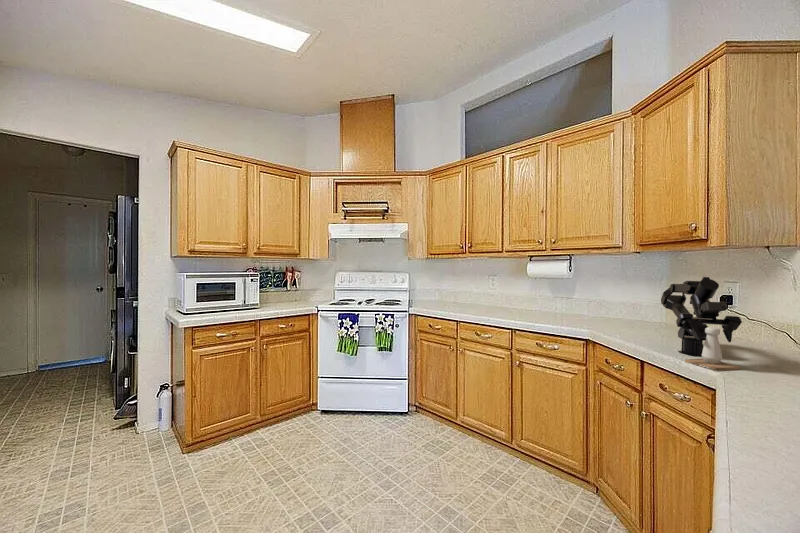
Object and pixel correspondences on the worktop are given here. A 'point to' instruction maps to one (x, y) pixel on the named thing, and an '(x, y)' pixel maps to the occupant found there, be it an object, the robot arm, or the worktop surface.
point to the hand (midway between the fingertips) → (714, 340)
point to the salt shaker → (712, 346)
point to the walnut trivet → (713, 366)
